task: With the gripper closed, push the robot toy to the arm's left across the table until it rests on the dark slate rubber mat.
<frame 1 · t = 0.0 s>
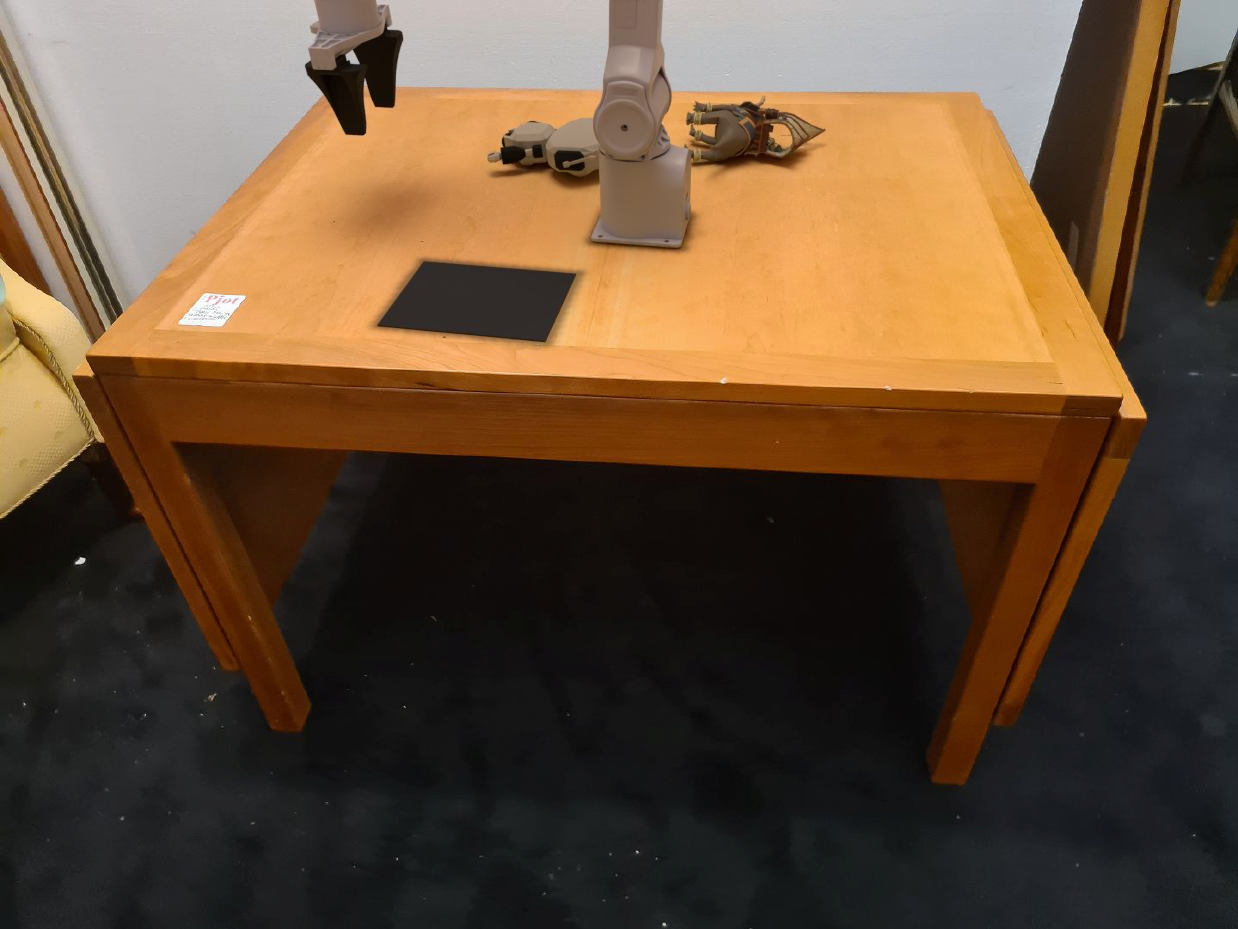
hand: (370, 119, 91), 10 cm above the table, tool pointing down, fingers open, 7 cm apart
robot toy: (560, 165, 106), on the table
leather gauntlet glove: (754, 153, 107), on the table
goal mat: (480, 299, 83), on the table
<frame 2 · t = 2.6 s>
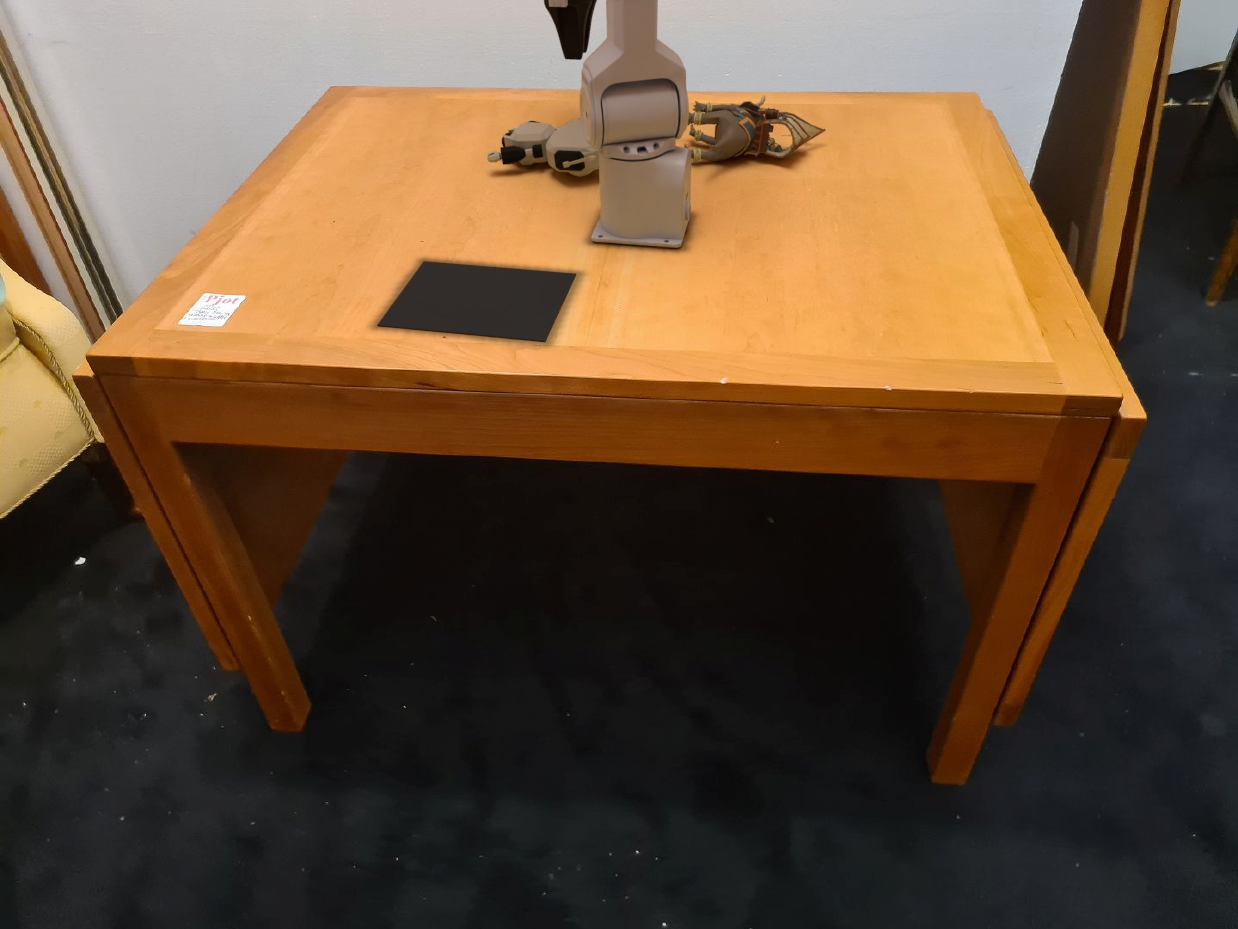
hand: (576, 55, 107), 9 cm above the table, tool pointing down, fingers closed
nothing on the table moved.
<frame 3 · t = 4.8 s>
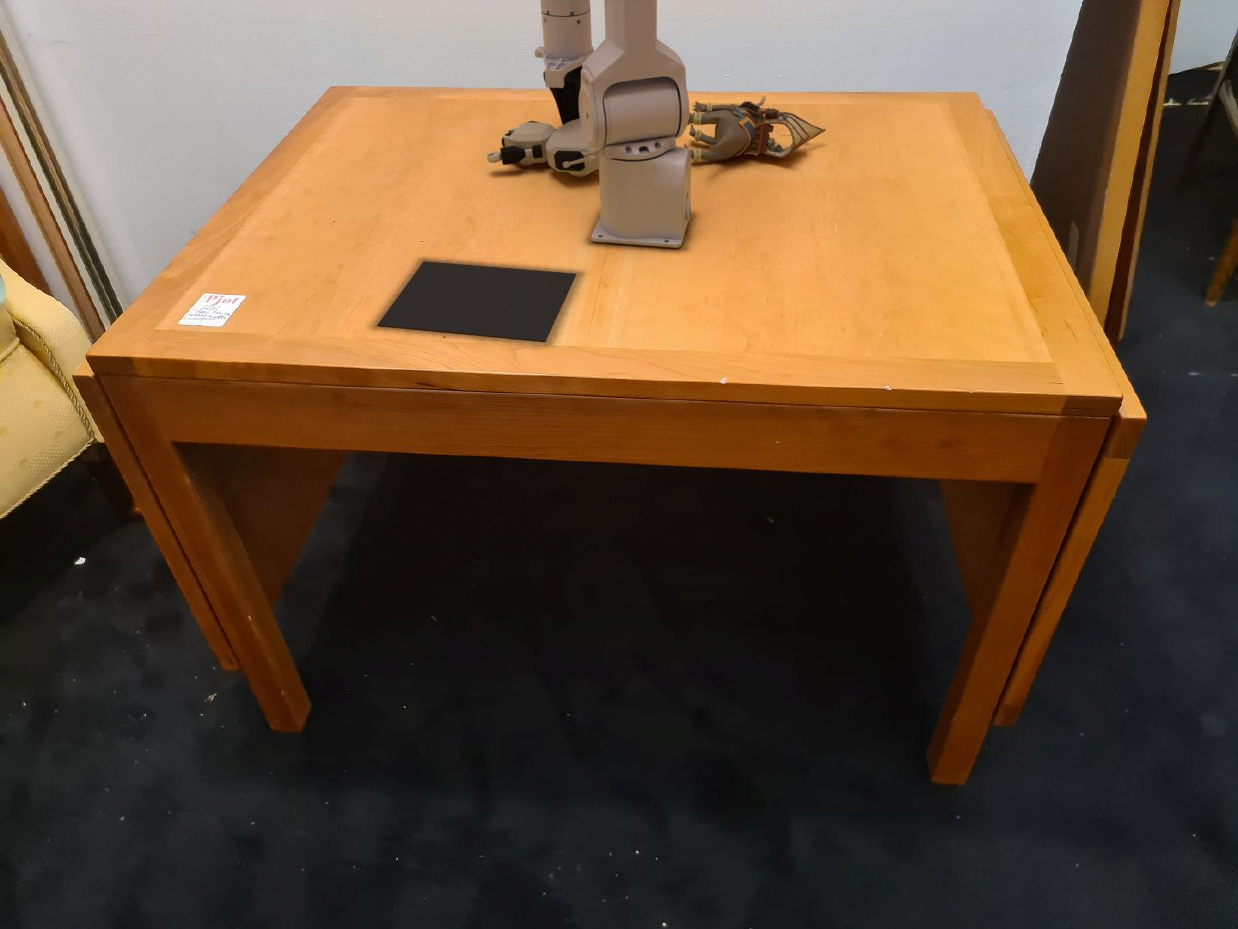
hand: (572, 127, 110), 2 cm above the table, tool pointing down, fingers closed
robot toy: (560, 165, 106), on the table, touching gripper
everything else where it was.
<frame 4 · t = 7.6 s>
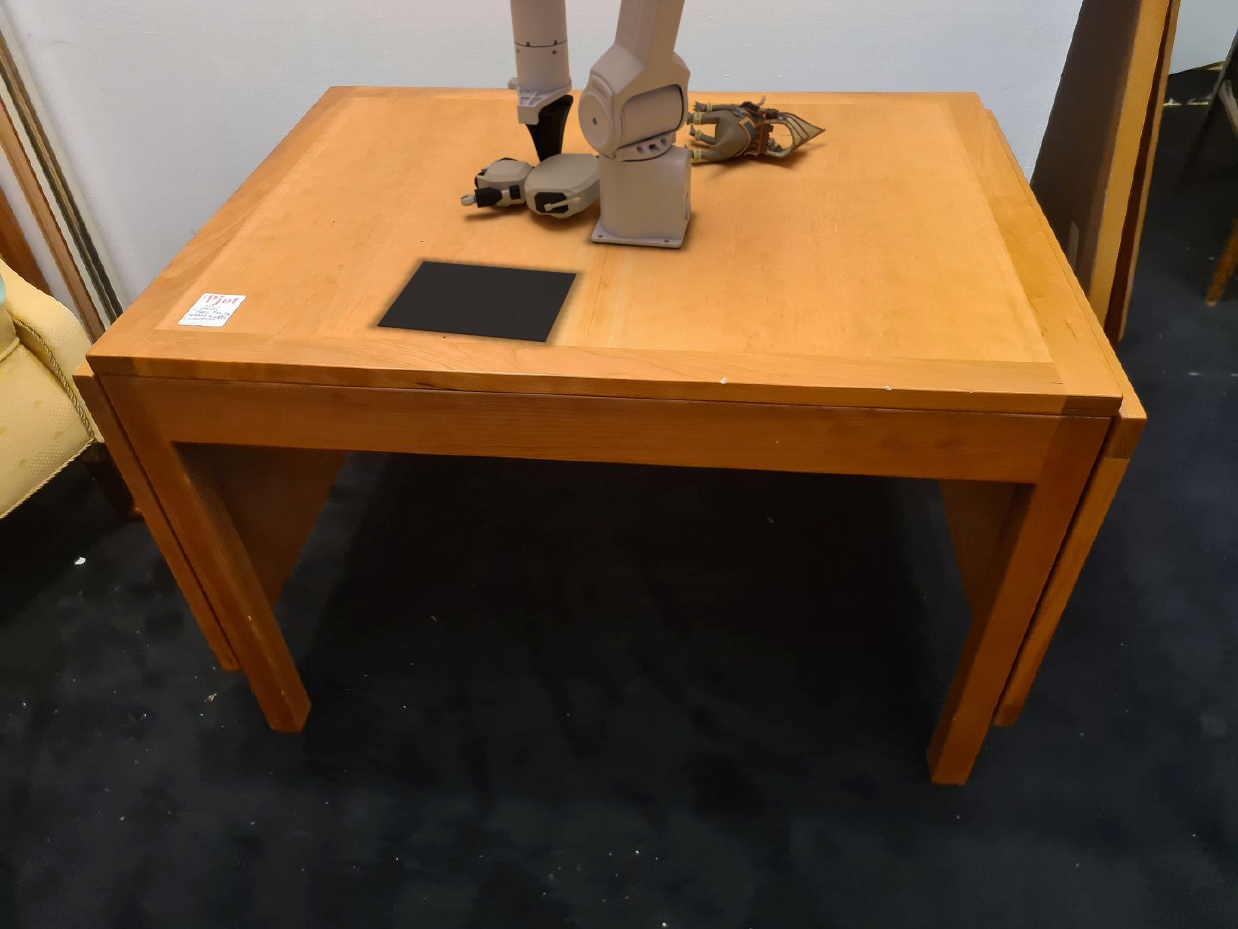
hand: (550, 163, 101), 2 cm above the table, tool pointing down, fingers closed
robot toy: (539, 205, 98), on the table, touching gripper
everything else where it was.
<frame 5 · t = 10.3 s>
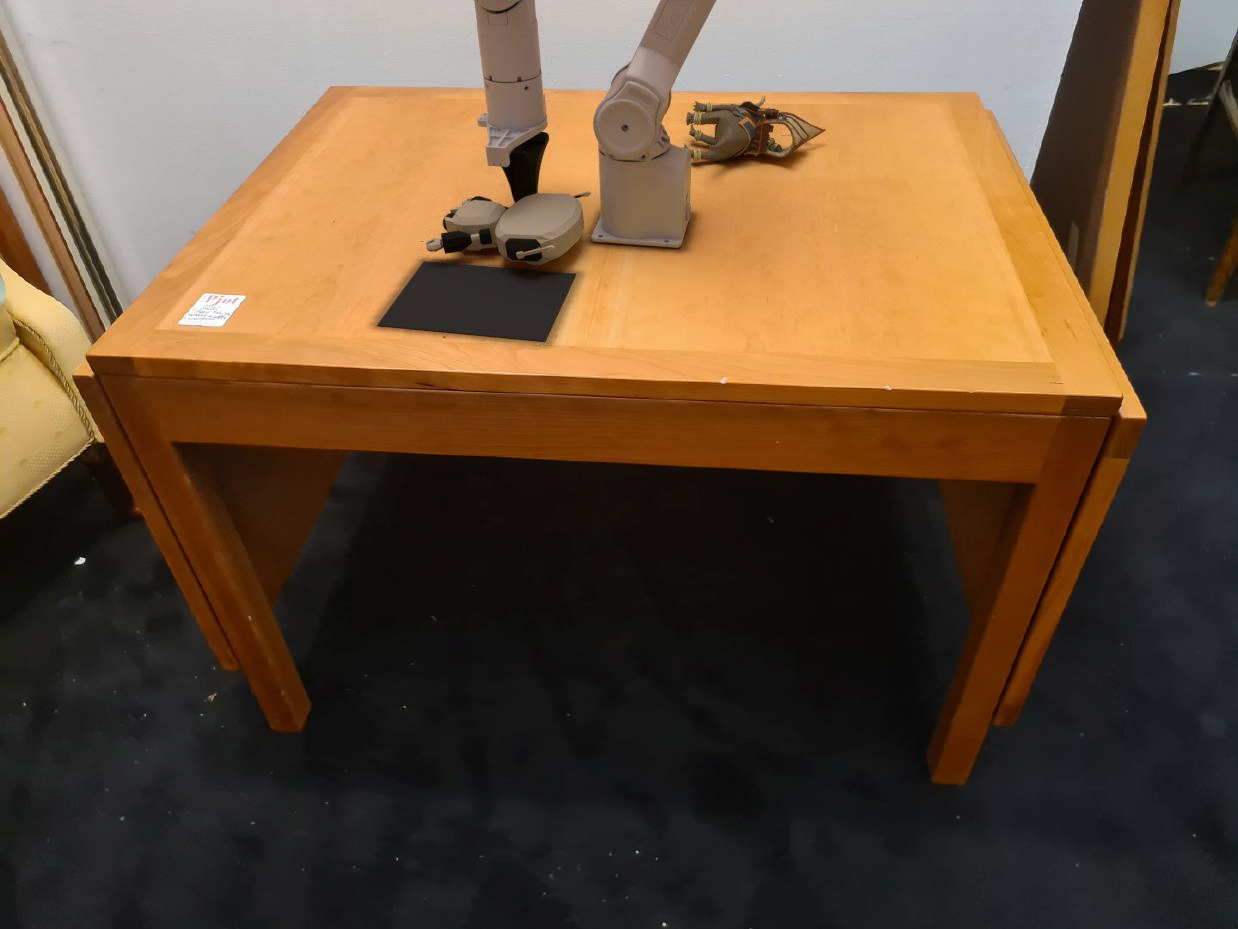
hand: (525, 204, 94), 2 cm above the table, tool pointing down, fingers closed, pressing on robot toy
robot toy: (513, 249, 91), on the table, touching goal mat, gripper
everything else where it was.
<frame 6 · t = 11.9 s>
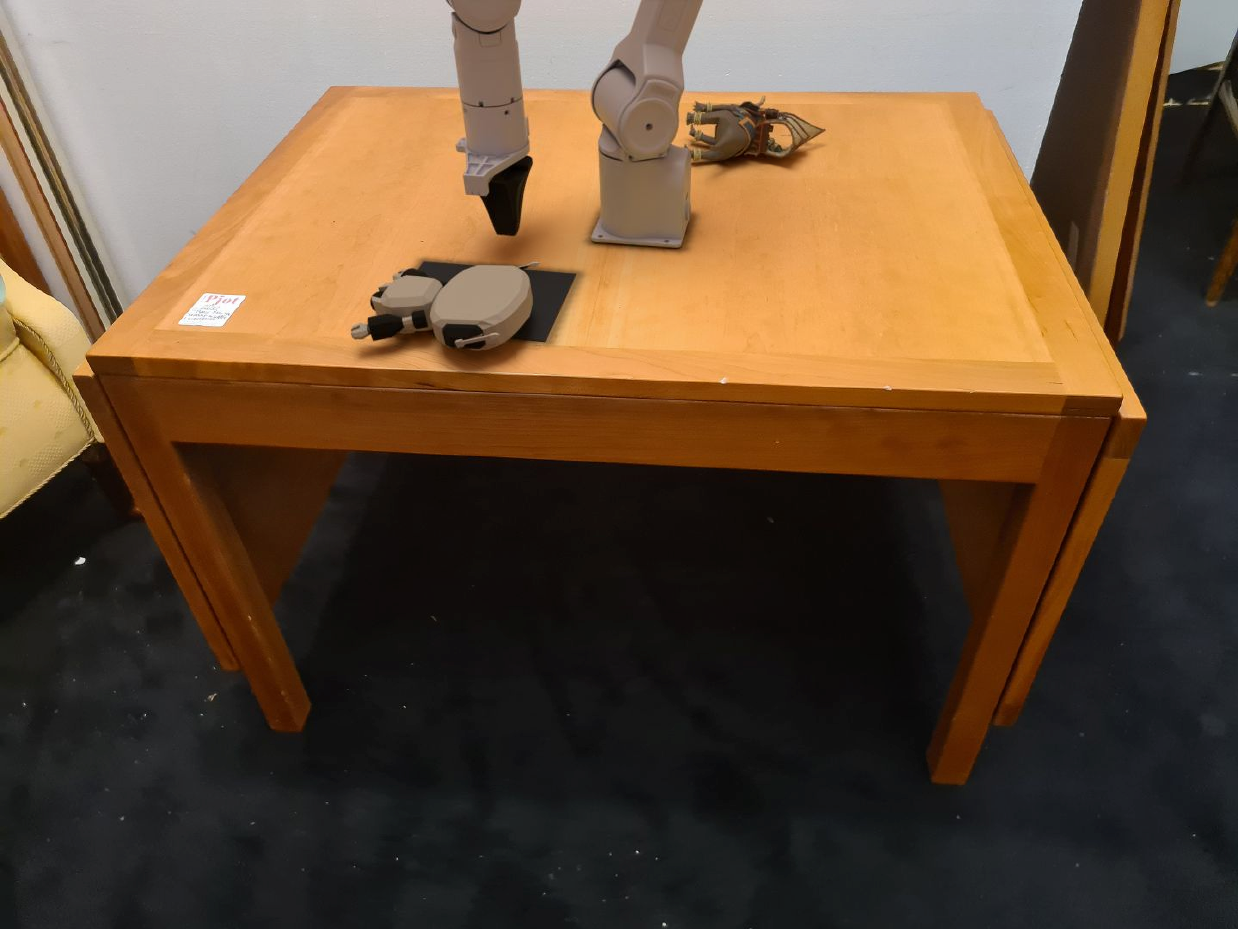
hand: (507, 232, 89), 2 cm above the table, tool pointing down, fingers closed
robot toy: (453, 330, 79), on the table, touching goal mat
everything else where it was.
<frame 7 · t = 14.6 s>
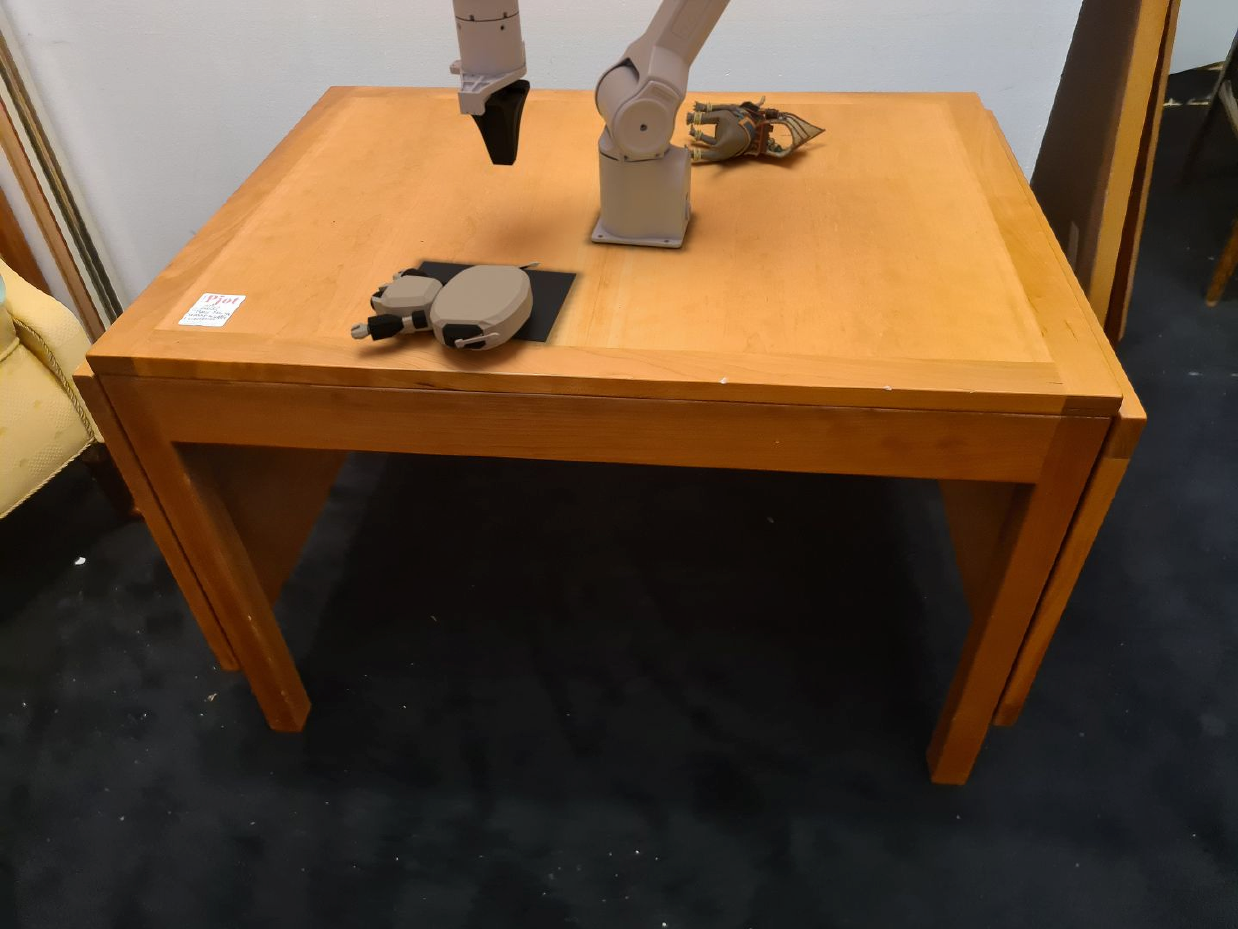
hand: (504, 162, 86), 9 cm above the table, tool pointing down, fingers closed
nothing on the table moved.
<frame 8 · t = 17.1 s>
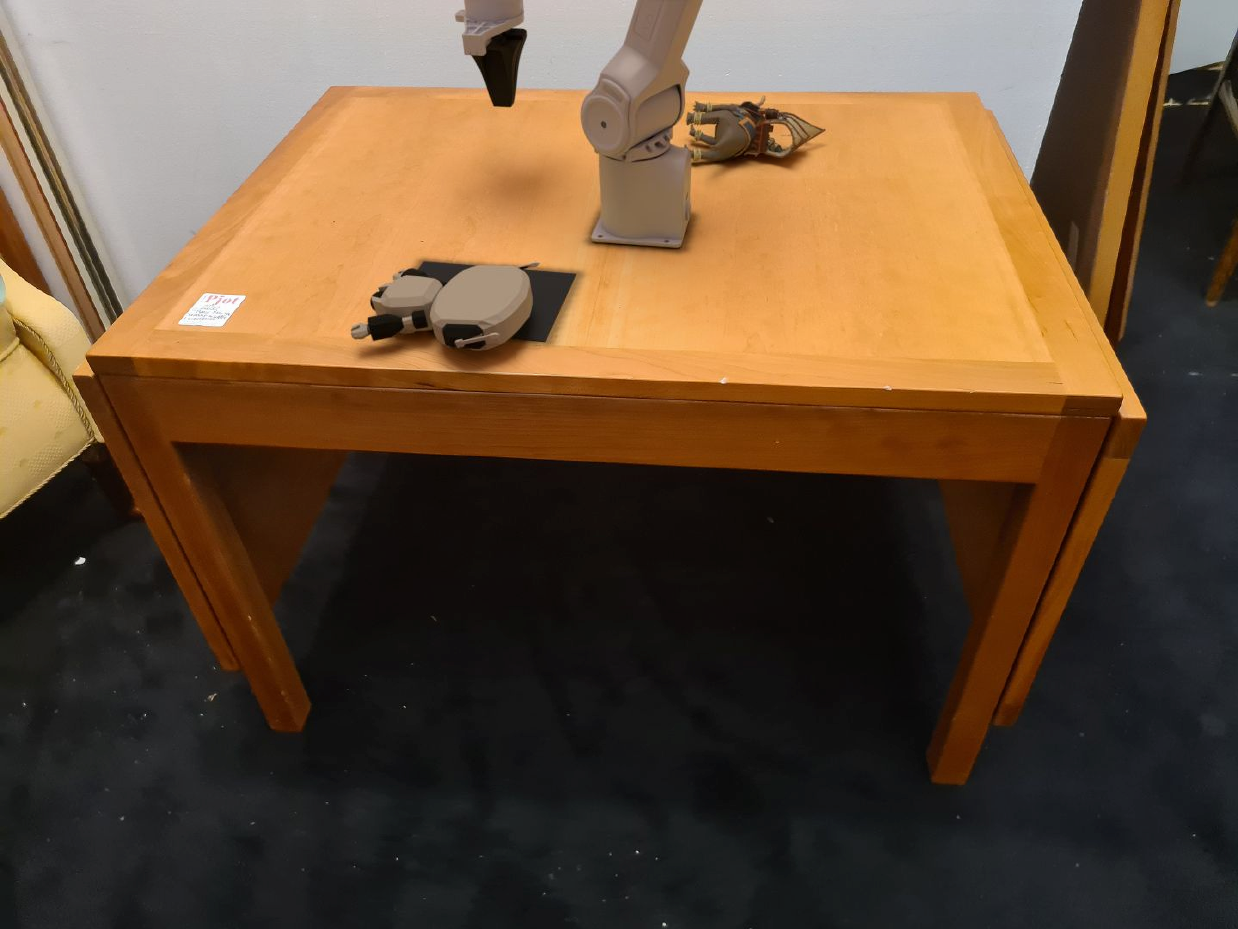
hand: (503, 104, 95), 9 cm above the table, tool pointing down, fingers closed
nothing on the table moved.
at the end: robot toy inside the target area on the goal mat (5.1 cm from its centre), point 0.0 cm above the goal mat's base; robot toy moved 37.0 cm from its start; robot toy tilted 0° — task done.
